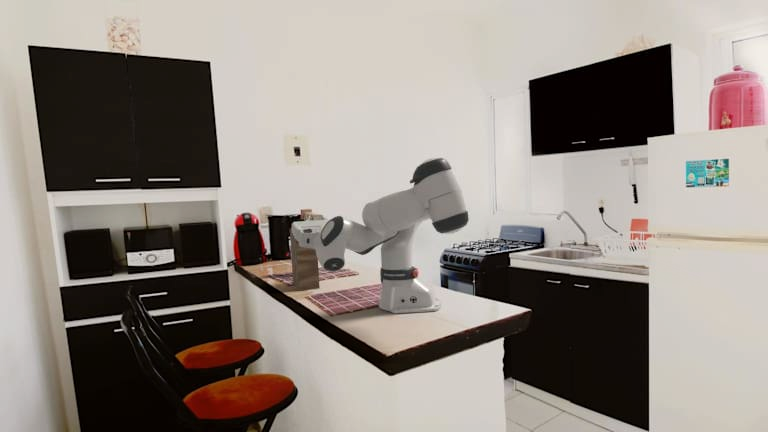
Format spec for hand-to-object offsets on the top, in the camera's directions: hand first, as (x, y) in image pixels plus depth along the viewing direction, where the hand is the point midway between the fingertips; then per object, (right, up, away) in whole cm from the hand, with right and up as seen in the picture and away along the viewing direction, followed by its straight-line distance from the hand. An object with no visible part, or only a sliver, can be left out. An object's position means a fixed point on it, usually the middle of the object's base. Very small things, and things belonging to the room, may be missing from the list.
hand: (315, 216), depth 160 cm
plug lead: (-3, -1, +9) cm, 9 cm away
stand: (-9, -32, +29) cm, 44 cm away
